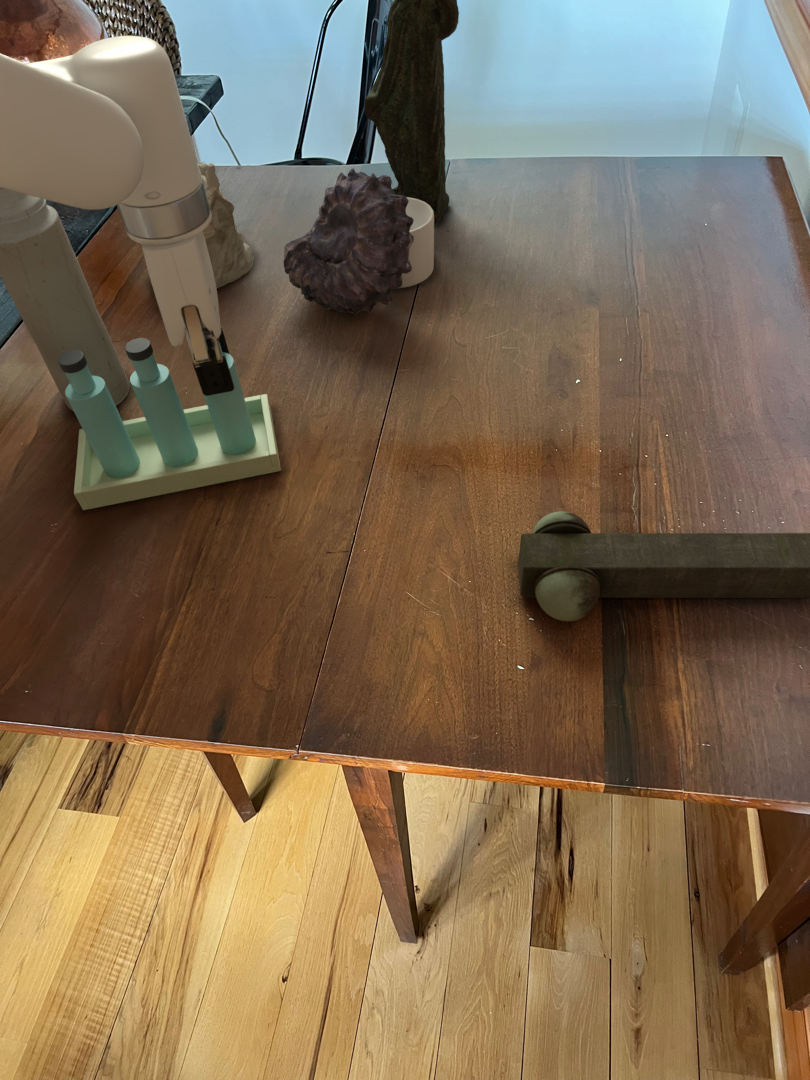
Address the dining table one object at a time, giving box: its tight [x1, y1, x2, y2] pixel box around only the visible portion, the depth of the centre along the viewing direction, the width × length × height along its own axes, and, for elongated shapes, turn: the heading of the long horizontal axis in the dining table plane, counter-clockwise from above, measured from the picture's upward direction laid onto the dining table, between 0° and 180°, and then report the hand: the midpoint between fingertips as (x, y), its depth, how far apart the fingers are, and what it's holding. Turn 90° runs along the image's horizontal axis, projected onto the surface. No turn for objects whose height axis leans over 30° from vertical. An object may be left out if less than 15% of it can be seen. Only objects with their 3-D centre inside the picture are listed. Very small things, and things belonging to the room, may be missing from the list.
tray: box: [73, 393, 282, 511], centre depth 86 cm, size 22×11×3 cm, turn 102°
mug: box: [398, 197, 435, 289], centre depth 108 cm, size 13×10×8 cm
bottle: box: [203, 328, 256, 455], centre depth 82 cm, size 4×4×15 cm
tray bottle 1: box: [58, 350, 140, 478], centre depth 81 cm, size 4×4×15 cm
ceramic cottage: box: [144, 161, 255, 289], centre depth 109 cm, size 16×16×15 cm
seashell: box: [283, 168, 414, 315], centre depth 98 cm, size 20×13×15 cm
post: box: [517, 510, 810, 622], centre depth 70 cm, size 11×6×30 cm
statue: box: [363, 0, 460, 226], centre depth 108 cm, size 15×10×35 cm, turn 83°
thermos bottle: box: [0, 187, 131, 412], centre depth 85 cm, size 8×8×28 cm
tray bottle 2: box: [124, 337, 198, 467], centre depth 81 cm, size 4×4×15 cm
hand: (217, 376), depth 80 cm, fingers closed on bottle, 4 cm apart
